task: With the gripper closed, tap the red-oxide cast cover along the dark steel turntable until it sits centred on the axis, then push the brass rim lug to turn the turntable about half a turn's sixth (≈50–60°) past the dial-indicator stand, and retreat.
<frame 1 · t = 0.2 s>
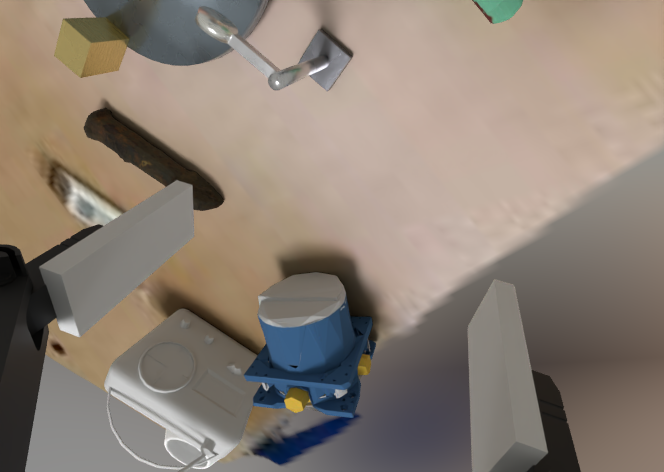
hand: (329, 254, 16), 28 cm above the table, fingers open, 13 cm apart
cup: (226, 387, 75), on the table
indicator stand: (325, 60, 39), on the table
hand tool: (168, 155, 51), on the table
radio: (222, 339, 68), on the table
valve: (325, 304, 56), on the table
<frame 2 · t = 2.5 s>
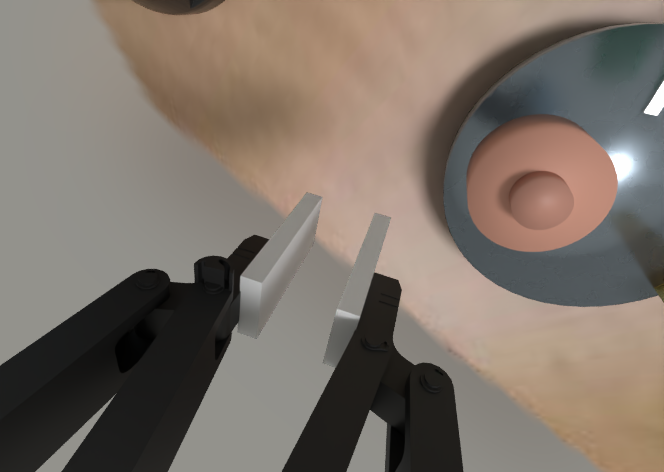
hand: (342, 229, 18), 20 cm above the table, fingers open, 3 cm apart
turntable: (616, 205, 27), point 6 cm above the table, hinge at 0.0°, touching cover
cover: (528, 174, 29), point 4 cm above the table, touching turntable
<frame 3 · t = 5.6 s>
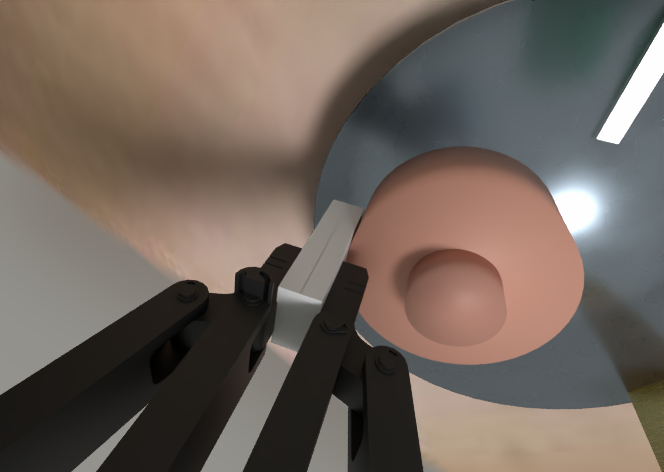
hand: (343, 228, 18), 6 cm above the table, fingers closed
turntable: (560, 284, 17), point 6 cm above the table, hinge at 0.0°
cover: (454, 235, 18), point 4 cm above the table, touching gripper
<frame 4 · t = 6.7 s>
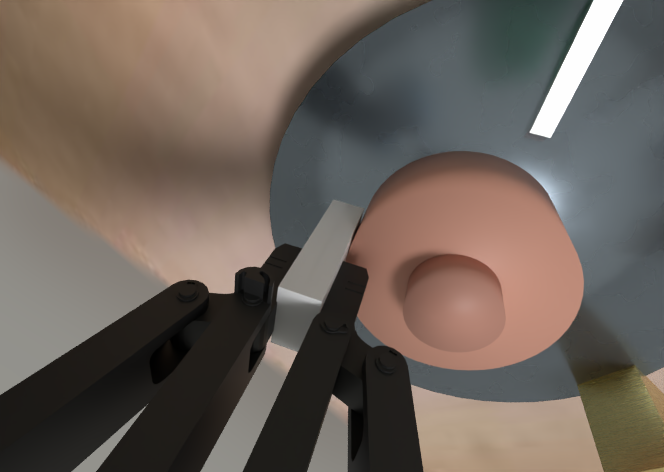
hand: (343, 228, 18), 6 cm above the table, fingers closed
turntable: (501, 276, 17), point 6 cm above the table, hinge at 0.0°, touching cover
cover: (453, 240, 18), point 4 cm above the table, touching gripper, turntable
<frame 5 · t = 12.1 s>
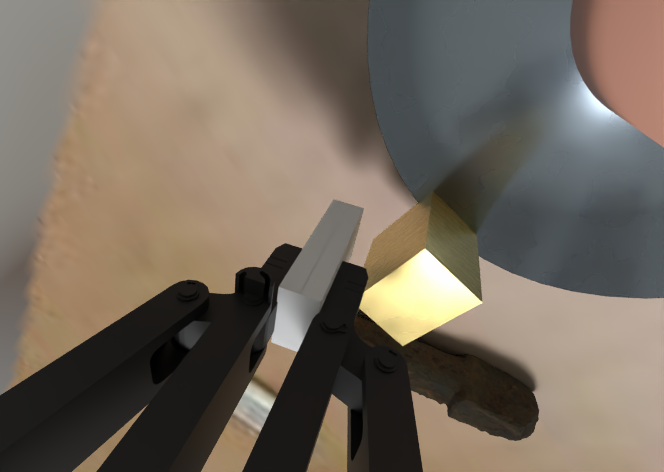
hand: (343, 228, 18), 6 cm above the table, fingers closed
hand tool: (412, 334, 29), on the table
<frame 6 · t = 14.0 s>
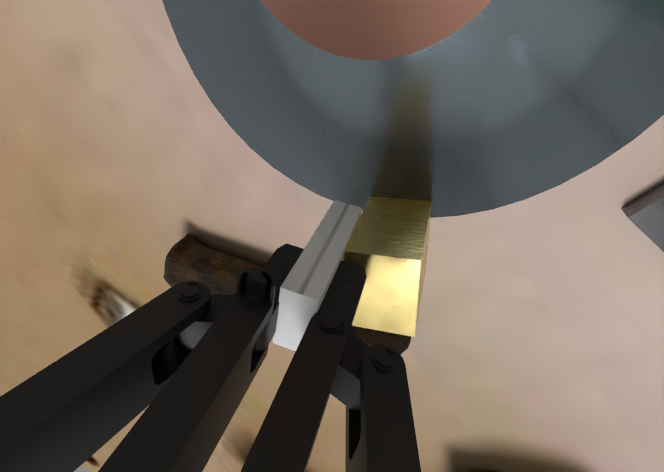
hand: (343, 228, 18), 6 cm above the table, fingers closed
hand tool: (298, 276, 30), on the table
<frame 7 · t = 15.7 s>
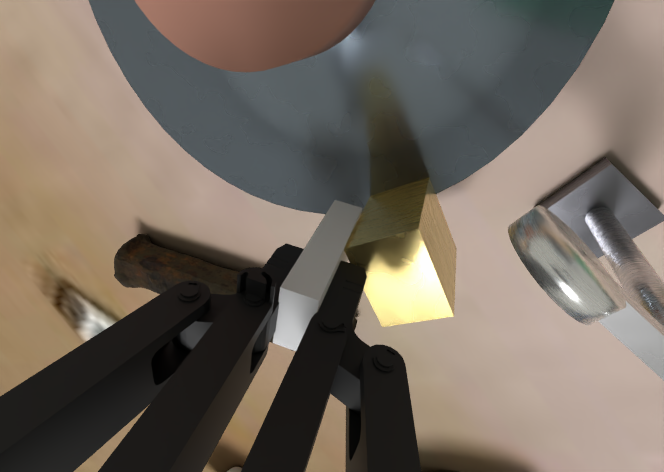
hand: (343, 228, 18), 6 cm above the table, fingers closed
indicator stand: (593, 209, 20), on the table
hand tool: (247, 272, 30), on the table
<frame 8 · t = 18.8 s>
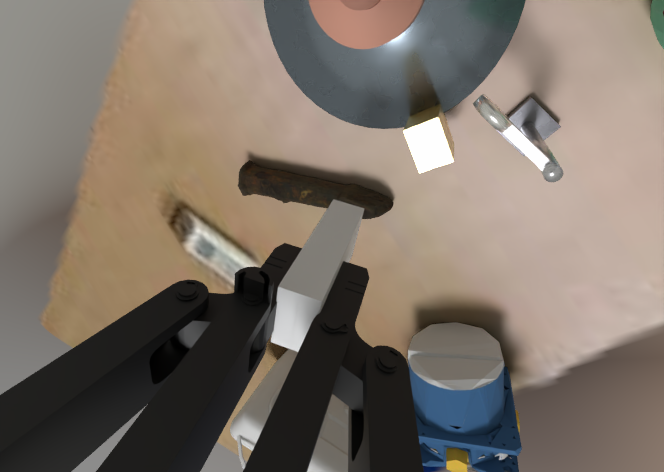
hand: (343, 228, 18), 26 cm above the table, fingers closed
indicator stand: (526, 125, 37), on the table
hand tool: (319, 180, 47), on the table
radio: (328, 377, 67), on the table
turntable: (390, 4, 30), point 6 cm above the table, hinge at 67.0°, touching cover
valve: (456, 352, 55), on the table
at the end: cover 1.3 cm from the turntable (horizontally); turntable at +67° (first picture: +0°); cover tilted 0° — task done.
